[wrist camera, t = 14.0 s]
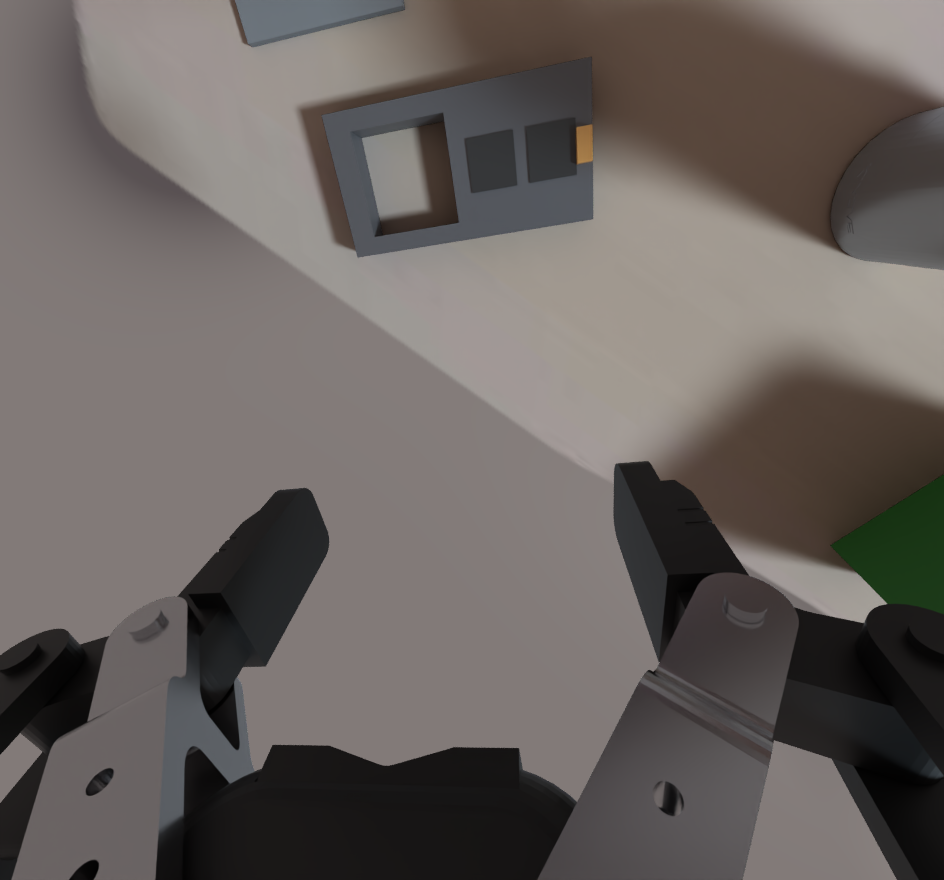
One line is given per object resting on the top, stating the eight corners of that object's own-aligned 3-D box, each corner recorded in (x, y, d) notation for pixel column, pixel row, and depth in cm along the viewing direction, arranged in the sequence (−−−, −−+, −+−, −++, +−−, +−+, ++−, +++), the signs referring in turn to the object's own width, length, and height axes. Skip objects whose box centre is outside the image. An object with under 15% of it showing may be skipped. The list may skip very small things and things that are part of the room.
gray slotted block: (585, 69, 28) (593, 53, 25) (587, 219, 32) (594, 219, 29) (335, 122, 30) (317, 113, 27) (367, 255, 34) (355, 258, 32)
